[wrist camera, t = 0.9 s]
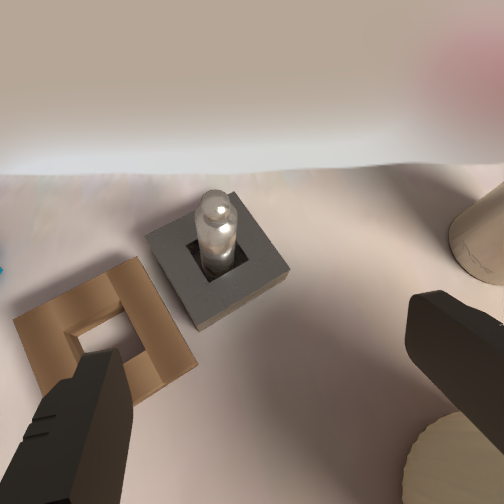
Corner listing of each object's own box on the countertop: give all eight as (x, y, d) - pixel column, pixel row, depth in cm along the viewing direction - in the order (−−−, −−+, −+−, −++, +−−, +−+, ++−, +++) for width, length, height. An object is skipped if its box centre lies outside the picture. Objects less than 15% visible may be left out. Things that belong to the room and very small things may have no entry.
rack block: (143, 267, 33) (136, 256, 30) (198, 364, 30) (196, 361, 27) (31, 326, 30) (12, 319, 27) (79, 441, 27) (63, 447, 24)
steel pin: (222, 244, 35) (223, 175, 24) (239, 268, 34) (247, 208, 23) (196, 259, 34) (183, 194, 23) (212, 284, 33) (207, 229, 22)
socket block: (233, 206, 37) (234, 191, 34) (284, 279, 34) (290, 269, 31) (150, 248, 34) (144, 236, 31) (199, 332, 31) (197, 326, 28)
